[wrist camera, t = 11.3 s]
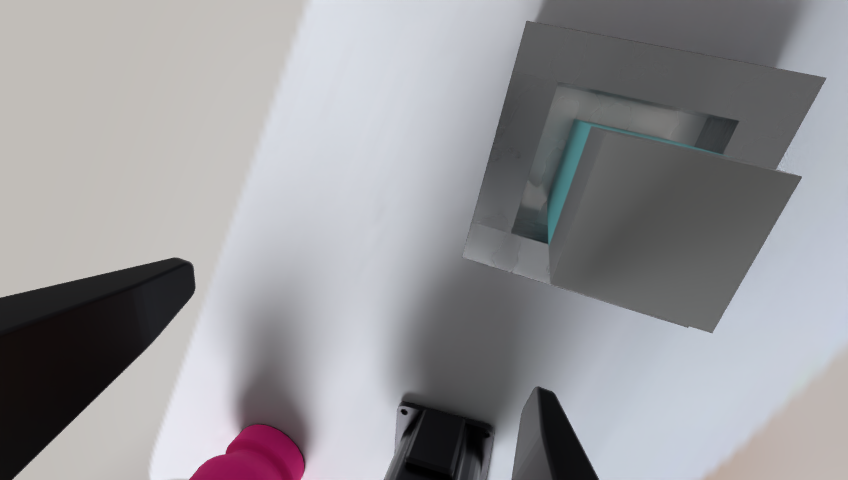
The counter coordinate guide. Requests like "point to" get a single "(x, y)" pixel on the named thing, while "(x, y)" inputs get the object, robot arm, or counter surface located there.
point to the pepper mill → (255, 458)
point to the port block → (617, 124)
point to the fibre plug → (658, 222)
